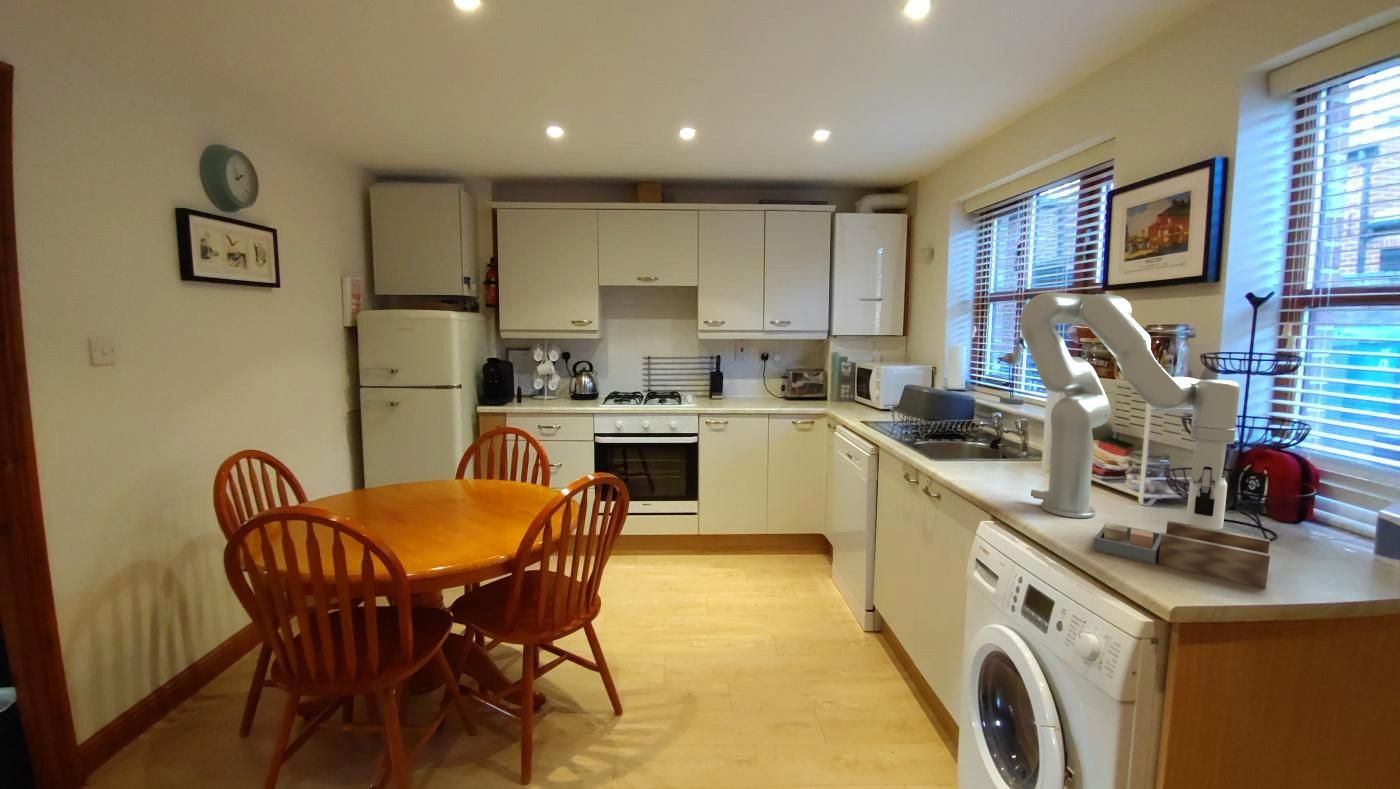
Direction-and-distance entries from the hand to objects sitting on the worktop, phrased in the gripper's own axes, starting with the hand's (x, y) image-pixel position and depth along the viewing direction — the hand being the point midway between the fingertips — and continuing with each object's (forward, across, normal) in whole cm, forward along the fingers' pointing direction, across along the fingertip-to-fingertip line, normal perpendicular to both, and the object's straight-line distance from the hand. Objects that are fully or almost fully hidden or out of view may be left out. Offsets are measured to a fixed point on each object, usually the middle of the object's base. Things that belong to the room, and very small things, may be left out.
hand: (1204, 510), depth 134 cm
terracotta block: (+6, +16, -12) cm, 20 cm away
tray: (+8, +15, -12) cm, 21 cm away
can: (+4, 0, 0) cm, 4 cm away
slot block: (+8, +15, +2) cm, 17 cm away
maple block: (+4, +15, -14) cm, 21 cm away
